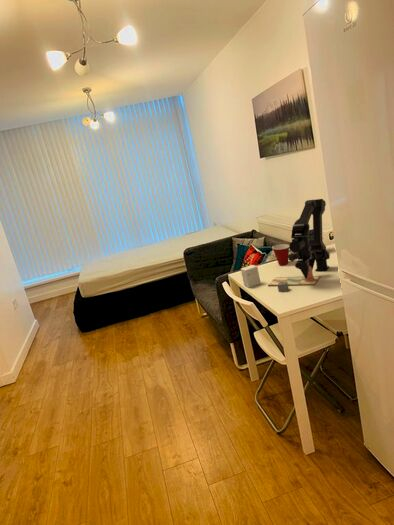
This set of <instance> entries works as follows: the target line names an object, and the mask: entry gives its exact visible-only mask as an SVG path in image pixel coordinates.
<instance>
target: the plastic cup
mask: <svg viewBox="0 0 394 525" xmlns="http://www.w3.org/2000/svg"><path fill="white" fill-rule="evenodd" d="M289 245H290V244H283V243H282V244H281V243H280V244H276V245H272V247H271V249H272V250H273V253H274V256H275V258H276V261H277V263H278V265H279V266H287V265H289V258H288V257H289V255H290V253H289V251H290V248H289Z"/></svg>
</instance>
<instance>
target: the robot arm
mask: <svg viewBox="0 0 394 525" xmlns="http://www.w3.org/2000/svg"><path fill="white" fill-rule="evenodd" d="M326 205H327V204H326V200H324V199H323V198H319V199H318V198H317V199H308V200H305V202H304V206H303V209H302V211H301V214H300V217H299V218H298V219H296V220H295V222H294V223H293V225H292V230H291V235H290V239H291V242H290V243H289V244H288V245H289V251H291V254H290V253H289V257H288V261H290V262H291V263H292V262H294V261H296V260H297V261H296V262H295V263H294V266H295V269H298V270H300V271H301V273H302V276H304V277H305V278H307V276H308V271H309V265H310V266H311V268H312V271H313V269H314V265H316V269H314V271H315V272H326V271H328V270H329V268H330V265H328V260H330V256H331V255H330V254H331V253H329V251H328V249H327V245H326V244H325V243H324V241H323V238H324V237H323V215H324V213H325V210H326ZM311 217H312V229H313V244H312V245H309V239H308V236H309V234H308V233H309V230H311V229H310V227H311V226H310V220H311Z"/></svg>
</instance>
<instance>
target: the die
mask: <svg viewBox="0 0 394 525" xmlns="http://www.w3.org/2000/svg"><path fill="white" fill-rule="evenodd" d="M289 288H290V287H289V286H288V282H280V283H279V284H278V286H277V290H278V293H286V292H287V291H288V290H289Z"/></svg>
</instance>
